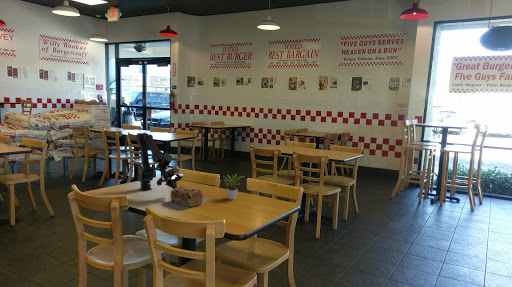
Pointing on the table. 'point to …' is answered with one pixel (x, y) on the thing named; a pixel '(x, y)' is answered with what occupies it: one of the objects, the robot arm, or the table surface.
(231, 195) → the house plant
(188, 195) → the bread
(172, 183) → the robot arm
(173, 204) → the serving mat
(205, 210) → the table surface
